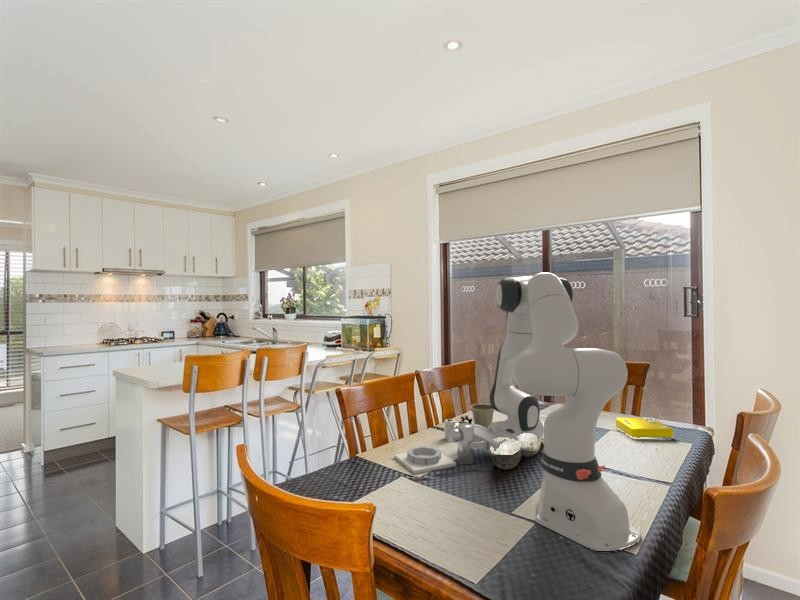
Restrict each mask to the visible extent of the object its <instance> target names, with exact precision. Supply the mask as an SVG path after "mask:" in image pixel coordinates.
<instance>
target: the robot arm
mask: <svg viewBox="0 0 800 600" xmlns="http://www.w3.org/2000/svg"><path fill="white" fill-rule="evenodd" d="M573 293H574V291H573V287H572V284H571V283H570V282H569V280H568V279H566V278H563V277H558V276H557V275H556V274H554V273H552V272H548V271H547V272H539V273H536V274H534V275H533V276H532V275H529V276H527V275H526V276H518V277H517V276H515V277H513V276H511V277H505V278H501V280H499V282H498V283H497V286H496V290H495V300H496V302H497V306H498V308H499V309H500V310H501V311H503V312H506V313H507V320H506V333H505V335H506V336H505V339H504V341H503V342H502V343H501V345H500V348H499V351H498V355H497V356H498V357H497V361H496V368H495V375H494V382H493V385H492V388H491V390H490V394H489V405H491V406H492V408H493V409H494V411H496V412H498V413H501V414H503V415H505V416H507V419H506V420H501V421H492V423H491V424H490V425H489V426H488V428H486V427H483V426H481V425H478V424H474V423H473V424H472V425H474V441H473V442H470V443H469V447H470V448H471V449H474V450H484V451H487V452H489V453H490V447H491V446H492V447H493V448H494V451H496V449H497V448H499V446H500V444H502V443H503V442H505V441H507V440H506V439H504V440H502V441H499V442H497V441H494V440H493V439H495V438H498V437H507V438H510V439H512V438H513V439H515V440H517V441H518V438H517V436H519V435H520V434H523V433H533V434H535V435H536V436H537V437H538V439H539V441H540V440H541V439H542V438H543V450H542V451H541V466H542V469H543V470H542V472H543V473H542V478H541V484H540V492H539V499H538V502H537V505H536V509H535V510H536V513H537V514H536V516H535V522H536V523H538V524H539V525H541V526H543V527H545V528H548V529H549V530H551V531H553V532H555V533H558V534H559V535H562V537H563V536H564V537H565V538H567V539H569V540H571V541H573V542H575V543H577V544H579V545H582V546H583V547H585V548H588V549H589V548H590V549H589V550H592V549H593V550H592V551H594V550H596V551H609V550H616V549H620V548H623V547H627V546H629V545H632V544H634V543H636V542H637V541H638V540H639V539H640V537H641V538H642V532H641V531H640V530H639V529H638V528H637V527H635V526H633V525H632V524H630V521H629V519H630V518H629V514H628V510H627V507H626V505H625V503H624V502H623V501H622V499H621V498H620V497H619V496H618V495H617V494H616V493H615V492H614V491H613V489H612V488H611V487H610V486H609V484H608V482H606V481H605V480H604V479H603V477H602V472H605V471H606V469H604V468H606V466H605V465H600V466H599V463H598V460H597V456H595V450H596V449H595V447H596V446H595V445H596V443H595V442H596V430H597V423H598V419H599V417H600V415H601V413H602V411H603V409H604V408H605V406H606V405H607V404H608V402H609V401H610V400H611V399H612V398H613V397H614V396H616V395H617V394H618V393H620V392H621V391H622V390H623V388H624V387H625V385H626V383H627V381H628V377H629V376H628V374H629V373H628V367H627V364H626V362H625V360H624V359H623V357H622V356H621V355H620V354H619V353H617V352H616V351H615V352H614V351H610V350H608V349H602V348H595V347H594V348H593V347H592V348H590V347H589V348H588V347H587V348H586V347H585V348H584V347H583V348H577V347H575V348H572V347H571V348H570V347H565V346H564V345H567V344H568V343H570V342H571V341H572V340H573V339H574V338H576V336H577V334H578V332H579V329H580V328H579V327H580V325H579V320H578V318H577V314H576V312H575V309H574V305H573V299H574V294H573ZM513 380H514V382H515V384H516V386H517V387H518V388H519V389H518V388H516V386H514V383H513ZM533 395H535V396H536V395H537V396H542V397H543V396H547V397H549V396H550V397H553V396H555V397H556V396H562V397H563V396H564V397H567V398H566V400H565V402H564V403H563V404H562V405H561V406H560V407H558V408H557V409H554V410H553V411H551V412H550V413H549V414H548V415H547V416H546V418H545V420H544V423H543V422H542V421H541V419H540V411H541V410H540V409H541V407H540V403H539V401H538V399H537V398H536V397H535V396H533ZM596 551H595V552H596Z"/></svg>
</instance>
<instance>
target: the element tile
mask: <svg viewBox="0 0 800 600" xmlns="http://www.w3.org/2000/svg"><path fill="white" fill-rule="evenodd" d="M616 427H617V428H619V429H621V430H622V431H624V432H625V433H627V434H628V435H630V436H632V437H637V438H638V437H639V438H640V437H673V438H674V428H673V427H671V426H669V425H667V424H666V423H663V422H661V421H660V420H657V419H656V418H653V417H616V418H615V428H616Z"/></svg>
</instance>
